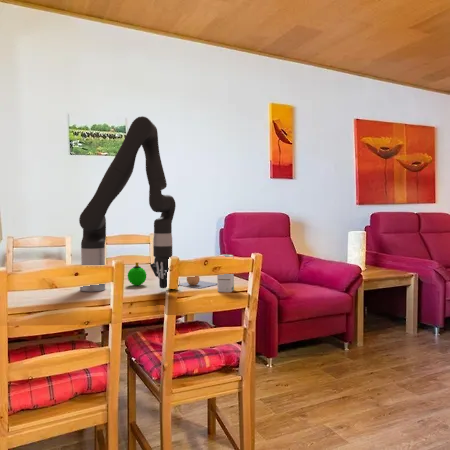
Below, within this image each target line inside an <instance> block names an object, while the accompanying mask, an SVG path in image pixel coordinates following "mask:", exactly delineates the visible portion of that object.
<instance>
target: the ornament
mask: <svg viewBox="0 0 450 450" xmlns="http://www.w3.org/2000/svg"><path fill="white" fill-rule="evenodd" d="M127 280H128V281H129V283H131V285H133V286H136V287H137V286H141V285H143V284H144V283H145V281H146V280H147V271H145V269H144V268H143V267H141V266H140V265H139V262H135V266H133V267H131V268H130V270H129V271H128V273H127Z"/></svg>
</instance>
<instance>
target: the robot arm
mask: <svg viewBox="0 0 450 450" xmlns="http://www.w3.org/2000/svg"><path fill="white" fill-rule="evenodd" d="M141 147H142V149H143V152H144V157H145V173H146V179H147V183H148V185H149V190H148V205H149V207H150V209H151V210H152V211H153V212H155V213H161V214H160V216H159V217H158V218H156V219H155V220H153V221H154V222H153V238H152V239H153V241H152V242H153V244H152V247H153V248H152V249H153V251H152V252H153V253H152V254H153V255H152V256H153V257H154V259H153V261H154V262H153V263H150V265H149V267H150V268H151V270H152V272H153V273H154V276H155V277H157V278H158V279H159V288H160V289H166V288H167V272H168V259H169V257H171V258H172V256H173V233H172V231H173V230H172V223H173V219H174V216H175V210H176V207H177V206H176V201H175V198H174V197H173V196H172V195H170V194H162V191H163V190H165V189H166V188H167V185H168V184H167V179H166V175H165V171H164V168H163V164H162V159H161V153H160V149H159V148H160V147H159V135H158V128H157V127H156V125H155V124H154V123H153V121H151V120H150V118H148V117H147V116H143V115H142V116H138V117H136V118H135V119H133V120H132V122H131V124H130V126H129V128H128V130H127V133H126V134H125V136H124V139H123V141H122V144H121V146H120V147H119V149H118V151H117V152H116V154H115V156H114V158H113V159H112V162H110V164H109V166H108V168H107V169H106V172H105V173H104V175H103V177H102V179H101V181H100V183H99V185H98V187H97V189H96V191H95V193H94V195H93V196H92V197H91V199H90V201H89V202H88V203H87V205H86V206H85V208H84V209H83V211H82V212H81V213H80V215H79V218H78V221H79V226H80V228H81V229H82V238H81V243H80V251H81V252H80V255H81V258H80V260H81V261H80V262H81V263H80V266H81V265H105V266H106V240H107V239H106V238H107V220H106V219H107V218H106V214H107V212H108V209H109V208H110V206H111V205H112V203H113V201H114V200H115V199H116V198H118V196H119V195H120V193H121V192H122V191H123V189H124V188H125V187H126V186H127V184H128V181H129V180H130V178H132V177H131V176H132V175H133V171H134V168H135V163H136V159H137V154H138V152H139V151H140V148H141ZM105 290H106V283H105V284H99V285H90V286H83V287H80V286H79V291H80V292H91V293H92V292H101V291H105Z"/></svg>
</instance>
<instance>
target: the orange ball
mask: <svg viewBox="0 0 450 450" xmlns="http://www.w3.org/2000/svg"><path fill="white" fill-rule="evenodd" d="M200 279H201V278H200V275H199V276H195V277H187V276H186V282H188V284H189V285H193V286H194V285H197V284H198V283H199V281H201V280H200Z"/></svg>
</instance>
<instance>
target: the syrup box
mask: <svg viewBox="0 0 450 450" xmlns="http://www.w3.org/2000/svg"><path fill="white" fill-rule="evenodd" d="M219 256H225V257H233V258H234V254H220V255H219ZM234 279H235V273H234V274H224V275H217V283H218V285H217V292H219V293H232V292H233V291H234V290H235V280H234Z"/></svg>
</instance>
